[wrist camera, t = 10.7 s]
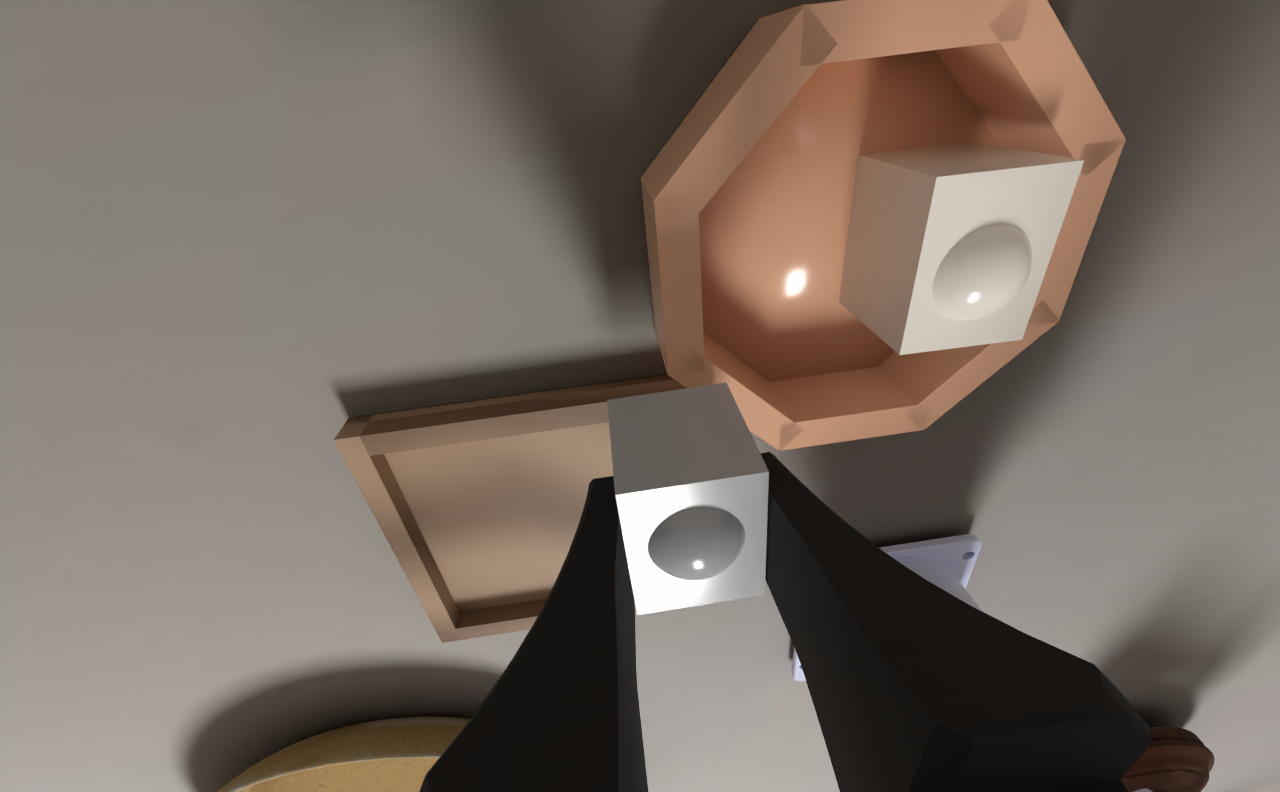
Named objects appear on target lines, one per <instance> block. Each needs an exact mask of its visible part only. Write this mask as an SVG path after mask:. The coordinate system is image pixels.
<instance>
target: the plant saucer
mask: <svg viewBox="0 0 1280 792" xmlns="http://www.w3.org/2000/svg"><path fill="white" fill-rule="evenodd" d="M470 719H471V718H462V717H445V716H417V717H400V718H390V719H382V720H375V721H369V722H363V723H358V724H354V725H349V726H345V727H341V728H338V729H334V730H331V731H327V732H324V733H321V734H319V735H316V736H313V737H310V738H307V739H305V740H302V741H300V742H297V743H295V744H293V745H291V746H288V747H286V748H284V749H282V750H280V751H278V752H276V753H274V754H272V755H270V756H268V757H266V758H264V759H262V760H261V761H259V762H258V763H256V764H254V765H253V766H251V767H249V768H248V769H246V770H245V771H243V772H242V773H241V774H239V775H238V776H236V777H235V778H234V779H232V780H231V781H230V782H228V783H227V784H226V785H225V786H223V787H222V788H221V789H220V790H219V791H217V792H419V791H420V788H421V785H422V783H423V780H424V778H425V775H426V774H427V772H428V771H429V770H430V769H431V767H432V766H433V765H434V764H435V762H436V761H437V760H438V759H439V758H440V756H441V755H442V754H443V753H444V751H445V750H446V749H447V748H448V746H449V745H450V744H451V743H452V741H453V740H454V739H455V738H456V736H457V735H458V734H459V733H460V732H461V730H462V729H463V728H464V727H465V725H466V724H467V723H468V721H469V720H470Z"/></svg>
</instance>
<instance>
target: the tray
mask: <svg viewBox="0 0 1280 792" xmlns="http://www.w3.org/2000/svg"><path fill="white" fill-rule="evenodd" d="M679 389H686V387H685V386H683V385H682V384H680V383H679V382H677V381H676V380H674V379H673V378H672V377H670V376H668V374H664V375H657V376H650V377H643V378H635V379H628V380H621V381H614V382H607V383H599V384H592V385H585V386H578V387H571V388H563V389H556V390H549V391H542V392H535V393H527V394H520V395H513V396H506V397H499V398H491V399H484V400H477V401H470V402H463V403H455V404H448V405H441V406H434V407H427V408H419V409H412V410H405V411H398V412H391V413H383V414H376V415H369V416H362V417H355V418H348V420H347V421H346V423H345V424H344V426H343V427H342V429H341V430H340V432H339V433H338V435H337V436H336V438H335V439H334V441H335V443H336V445H337V446H338V448H339V450H340V452H341V454H342V456H343V458H344V460H345V461H346V463H347V465H348V467H349V469H350V471H351V473H352V475H353V476H354V478H355V480H356V482H357V484H358V486H359V488H360V490H361V491H362V493H363V495H364V497H365V499H366V501H367V503H368V505H369V506H370V508H371V510H372V512H373V514H374V516H375V518H376V520H377V521H378V523H379V525H380V527H381V529H382V531H383V533H384V535H385V536H386V538H387V540H388V542H389V544H390V546H391V548H392V549H393V551H394V553H395V555H396V557H397V559H398V561H399V563H400V564H401V566H402V568H403V570H404V572H405V574H406V576H407V578H408V579H409V581H410V583H411V585H412V587H413V589H414V591H415V593H416V594H417V596H418V598H419V600H420V602H421V604H422V606H423V608H424V609H425V611H426V613H427V615H428V617H429V619H430V621H431V623H432V624H433V626H434V628H435V630H436V632H437V634H438V636H439V638H440V639H441V641H442V643H443V642H450V641H456V640H463V639H469V638H476V637H483V636H489V635H496V634H502V633H509V632H516V631H522V630H529V629H531V628H532V626H533V624H534V622H535V621H536V619H537V617H538V615H539V613H540V611H541V610H542V608H543V606H544V604H545V602H546V600H547V598H548V596H549V594H550V592H551V590H552V588H553V586H554V584H555V581H556V579H557V577H558V575H559V572H560V570H561V568H562V566H563V563H564V561H565V559H566V557H567V554H568V552H569V549H570V546H571V544H572V541H573V538H574V536H575V533H576V530H577V527H578V525H579V521H580V518H581V515H582V512H583V508H584V505H585V501H586V497H587V493H588V487H589V483H590V482H591V481H592V480H593V479H595V478H602V477H609V476H613V464H612V452H611V440H610V428H609V417H608V405H607V400H611V399H618V398H625V397H631V396H638V395H645V394H652V393H658V392H665V391H672V390H679ZM635 613H637V610H636V605H635Z"/></svg>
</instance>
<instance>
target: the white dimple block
mask: <svg viewBox="0 0 1280 792" xmlns="http://www.w3.org/2000/svg"><path fill="white" fill-rule="evenodd" d="M1083 163H1084V160H1080V159H1074V158H1068V157H1062V156H1056V155H1050V154H1044V153H1038V152H1032V151H1026V150H1020V149H1014V148H1008V147H1002V146H996V145H990V144H984V143H978V142H968V143H959V144H950V145H941V146H932V147H923V148H914V149H905V150H896V151H887V152H878V153H869V154H860V155H858V160H857V168H856V175H855V183H854V191H853V198H852V206H851V214H850V222H849V229H848V237H847V245H846V253H845V260H844V268H843V276H842V283H841V291H840V299H839V302H840V303H841V304H842V305H843V306H844V307H845V308H846V309H847V310H849V311H850V312H851V313H852V314H853V315H854V316H855V317H857V318H858V319H859V320H860V321H861V322H862V323H863V324H865V325H866V326H867V327H868V328H869V329H870V330H871V331H873V332H874V333H875V334H876V335H877V336H878V337H879V338H881V339H882V340H883V341H884V342H885V343H886V344H887V345H889V346H890V347H891V348H892V349H893V350H894V351H895V352H897V353H898V354H899V355H905V354H913V353H921V352H929V351H937V350H945V349H953V348H961V347H968V346H976V345H984V344H992V343H1000V342H1008V341H1016V340H1022V339H1023V336H1024V333H1025V330H1026V327H1027V324H1028V321H1029V318H1030V316H1031V313H1032V310H1033V307H1034V304H1035V301H1036V298H1037V295H1038V293H1039V290H1040V287H1041V284H1042V281H1043V278H1044V275H1045V272H1046V269H1047V267H1048V264H1049V261H1050V258H1051V255H1052V252H1053V249H1054V246H1055V244H1056V241H1057V238H1058V235H1059V232H1060V229H1061V226H1062V223H1063V221H1064V218H1065V215H1066V212H1067V209H1068V206H1069V203H1070V200H1071V197H1072V195H1073V192H1074V189H1075V186H1076V183H1077V180H1078V177H1079V174H1080V172H1081V169H1082V166H1083Z"/></svg>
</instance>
